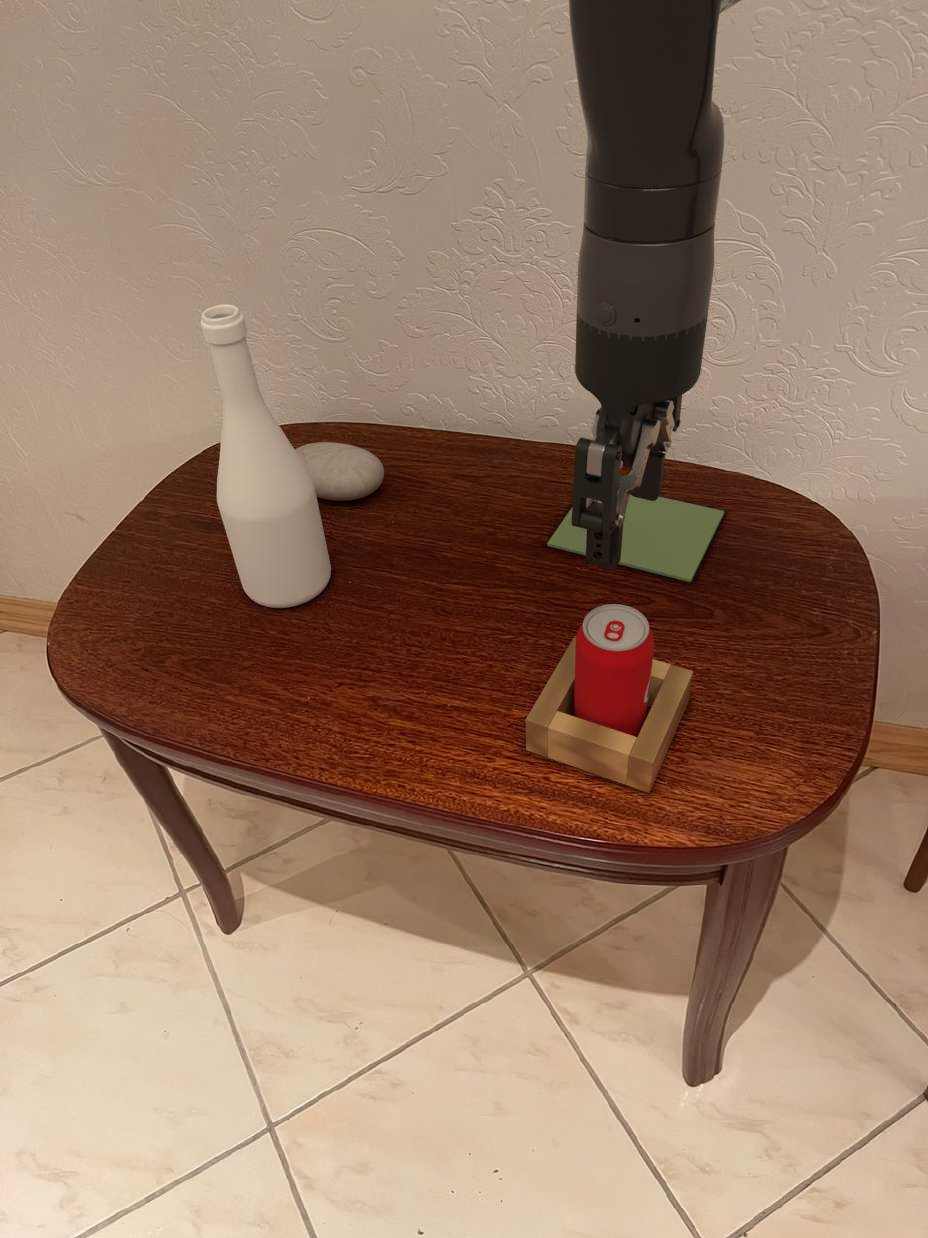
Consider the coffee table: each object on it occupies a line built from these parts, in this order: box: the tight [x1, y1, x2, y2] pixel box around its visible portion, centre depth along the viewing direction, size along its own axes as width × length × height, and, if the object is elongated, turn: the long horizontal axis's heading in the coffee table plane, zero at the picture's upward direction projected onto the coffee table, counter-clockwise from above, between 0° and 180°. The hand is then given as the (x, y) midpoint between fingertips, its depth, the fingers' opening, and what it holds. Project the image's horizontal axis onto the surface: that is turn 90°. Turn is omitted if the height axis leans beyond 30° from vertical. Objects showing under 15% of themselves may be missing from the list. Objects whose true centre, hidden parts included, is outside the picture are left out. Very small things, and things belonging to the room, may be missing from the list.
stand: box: [525, 635, 694, 794], centre depth 76 cm, size 11×11×4 cm
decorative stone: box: [294, 441, 385, 502], centre depth 106 cm, size 13×9×5 cm
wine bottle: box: [200, 304, 332, 609], centre depth 85 cm, size 10×10×30 cm
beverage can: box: [573, 603, 655, 737], centre depth 74 cm, size 6×6×12 cm
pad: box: [546, 490, 725, 583], centre depth 98 cm, size 16×13×1 cm
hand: (624, 528), depth 62 cm, fingers open, 8 cm apart
